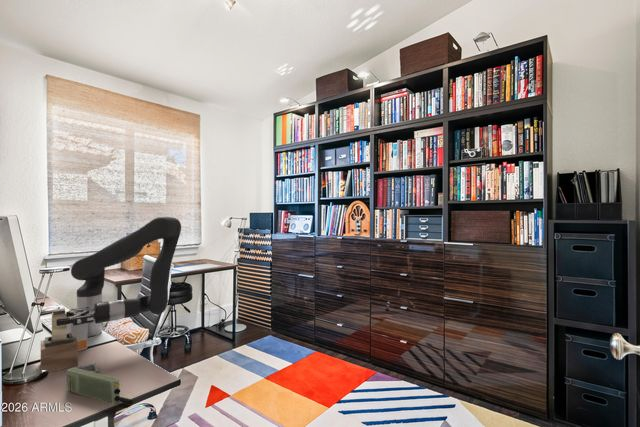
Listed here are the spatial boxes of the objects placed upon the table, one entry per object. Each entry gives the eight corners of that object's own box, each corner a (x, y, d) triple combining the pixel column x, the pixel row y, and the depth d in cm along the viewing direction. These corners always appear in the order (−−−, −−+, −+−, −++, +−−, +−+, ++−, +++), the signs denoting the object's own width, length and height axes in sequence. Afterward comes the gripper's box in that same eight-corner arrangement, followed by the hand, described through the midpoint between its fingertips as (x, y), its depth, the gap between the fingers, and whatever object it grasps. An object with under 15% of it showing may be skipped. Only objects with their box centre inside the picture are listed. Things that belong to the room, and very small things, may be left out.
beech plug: (51, 341, 122) (51, 309, 122) (65, 338, 125) (65, 307, 124) (52, 344, 119) (52, 312, 119) (66, 341, 122) (66, 310, 121)
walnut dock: (40, 363, 122) (40, 337, 122) (75, 355, 129) (75, 331, 129) (41, 373, 115) (41, 346, 115) (77, 365, 121) (77, 339, 121)
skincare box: (70, 354, 130) (70, 322, 130) (65, 351, 133) (65, 320, 132) (88, 348, 136) (88, 318, 136) (82, 346, 138) (82, 316, 138)
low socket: (69, 373, 115) (69, 369, 115) (95, 366, 120) (96, 363, 120) (70, 381, 109) (70, 378, 109) (99, 374, 114) (99, 371, 114)
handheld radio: (76, 386, 107) (136, 403, 98) (65, 392, 104) (126, 410, 95) (75, 365, 107) (135, 380, 98) (64, 370, 103) (125, 386, 94)
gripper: (106, 297, 137) (55, 304, 127) (112, 305, 126) (56, 313, 116) (106, 316, 137) (55, 324, 127) (112, 325, 126) (56, 336, 116)
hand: (55, 319), depth 121 cm, fingers open, 8 cm apart
